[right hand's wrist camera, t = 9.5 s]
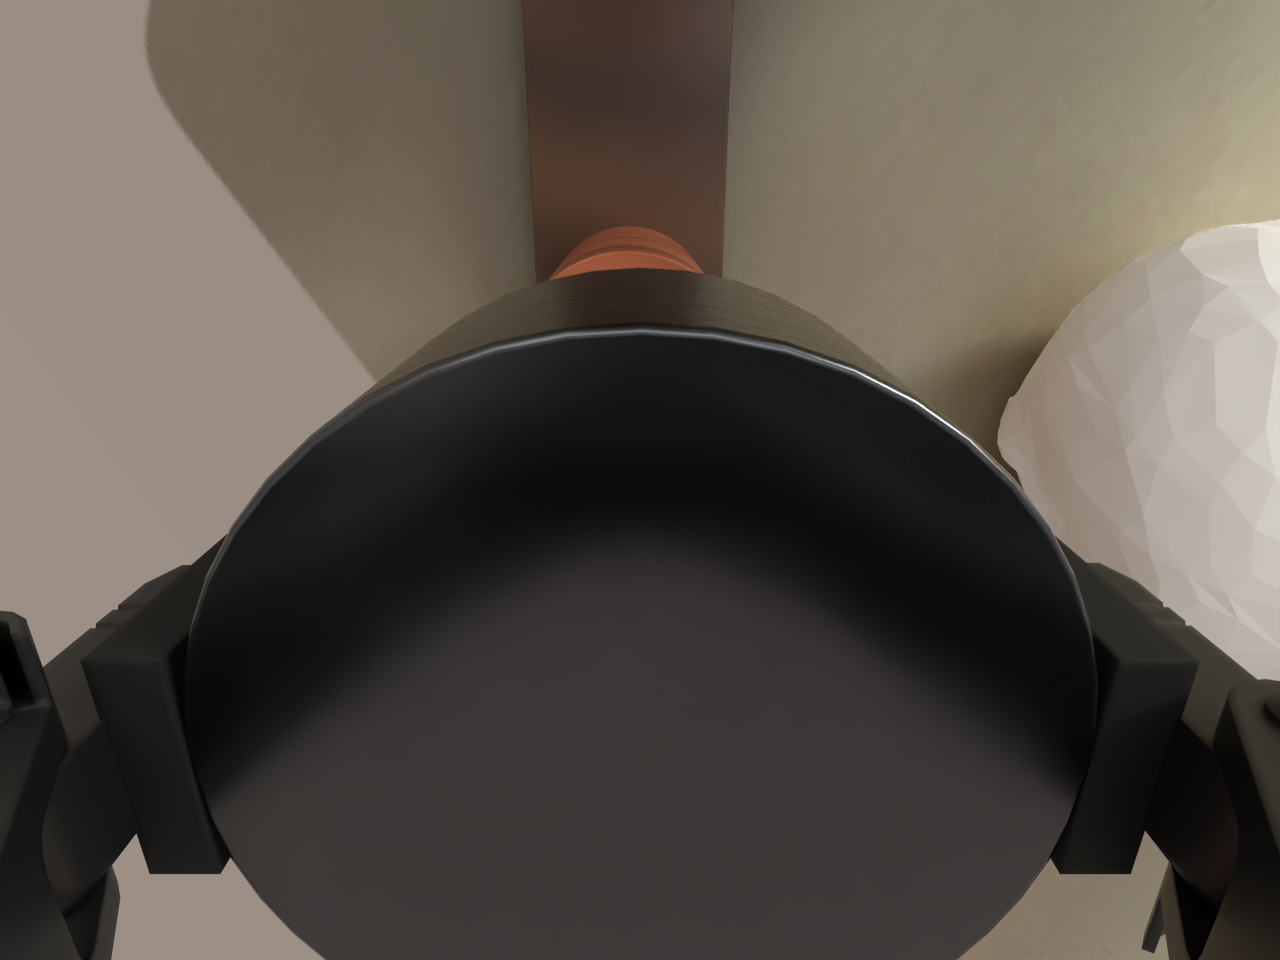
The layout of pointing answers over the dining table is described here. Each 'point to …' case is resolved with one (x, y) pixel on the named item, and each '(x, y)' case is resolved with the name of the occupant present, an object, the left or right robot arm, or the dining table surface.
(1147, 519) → the skull
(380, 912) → the canister lid
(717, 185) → the canister stand
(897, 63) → the dining table surface
